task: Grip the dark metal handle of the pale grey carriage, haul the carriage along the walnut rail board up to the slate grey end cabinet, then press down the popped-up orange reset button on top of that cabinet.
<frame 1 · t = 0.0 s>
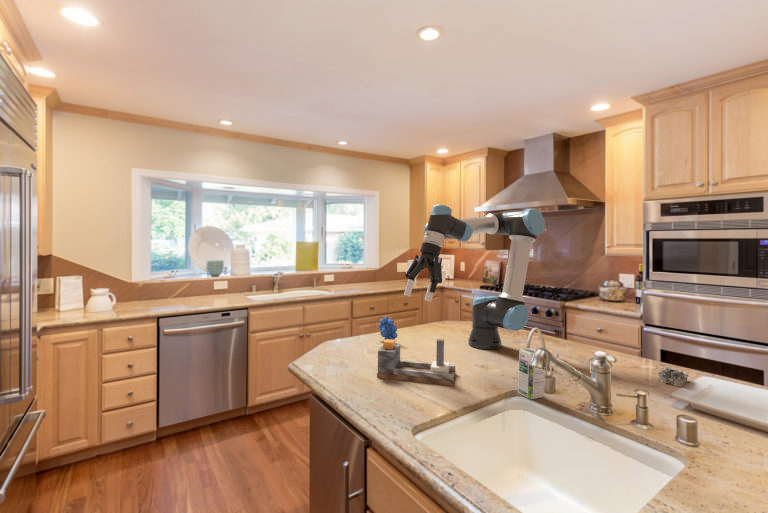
hand: (416, 298, 141), 28 cm above the worktop, fingers open, 13 cm apart
rail base: (416, 375, 138), on the worktop
grey ruffled clump: (672, 382, 134), on the worktop
syrup box: (530, 395, 121), on the worktop
carriage: (440, 356, 136), point 8 cm above the worktop, slide at 0.0 cm
grapes: (386, 342, 183), on the worktop
reset button: (389, 344, 141), point 11 cm above the worktop, slide at 0.0 cm
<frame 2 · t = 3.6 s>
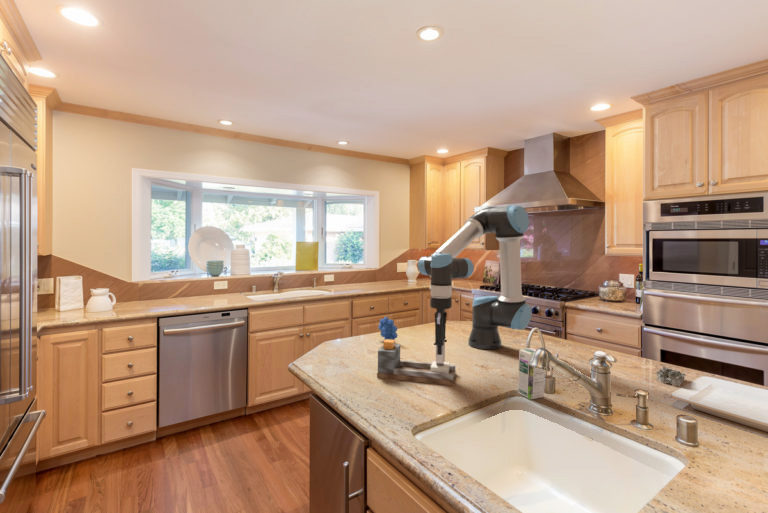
hand: (440, 361, 136), 6 cm above the worktop, fingers closed on carriage, 2 cm apart
carriage: (440, 356, 136), point 8 cm above the worktop, slide at 0.0 cm, touching gripper
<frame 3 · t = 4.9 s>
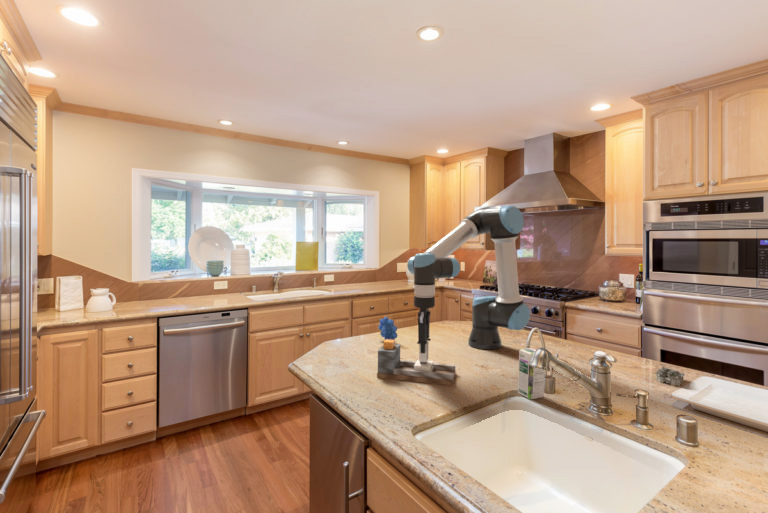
hand: (423, 359, 137), 6 cm above the worktop, fingers closed on carriage, 2 cm apart
carriage: (423, 355, 137), point 8 cm above the worktop, slide at 6.0 cm, touching gripper
everything else where it was.
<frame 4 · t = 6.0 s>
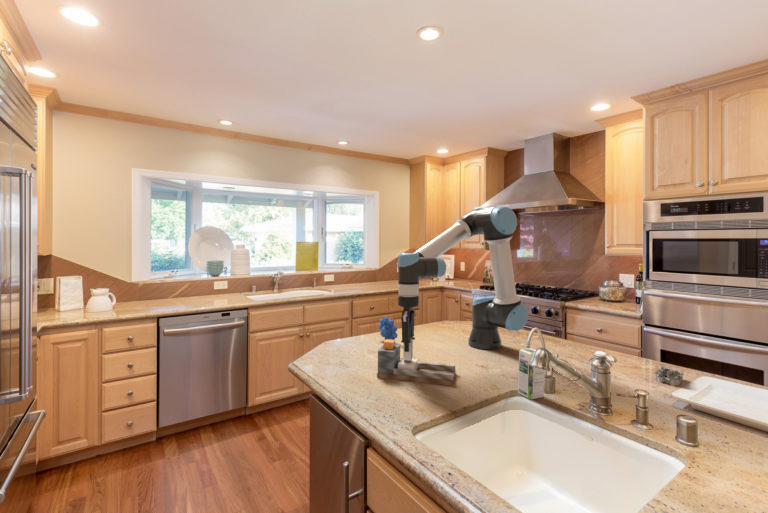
hand: (408, 358, 139), 6 cm above the worktop, fingers closed on carriage, 2 cm apart
carriage: (408, 353, 139), point 8 cm above the worktop, slide at 11.9 cm, touching gripper
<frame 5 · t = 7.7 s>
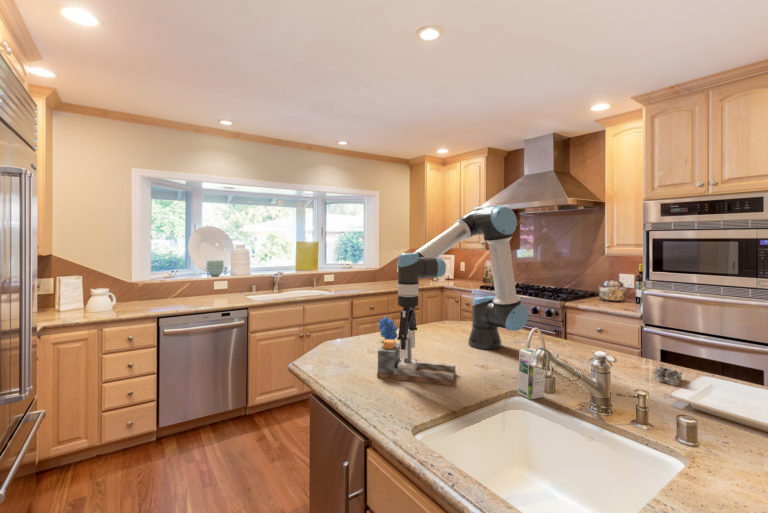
hand: (407, 352, 139), 8 cm above the worktop, fingers open, 13 cm apart
carriage: (407, 353, 139), point 8 cm above the worktop, slide at 12.0 cm
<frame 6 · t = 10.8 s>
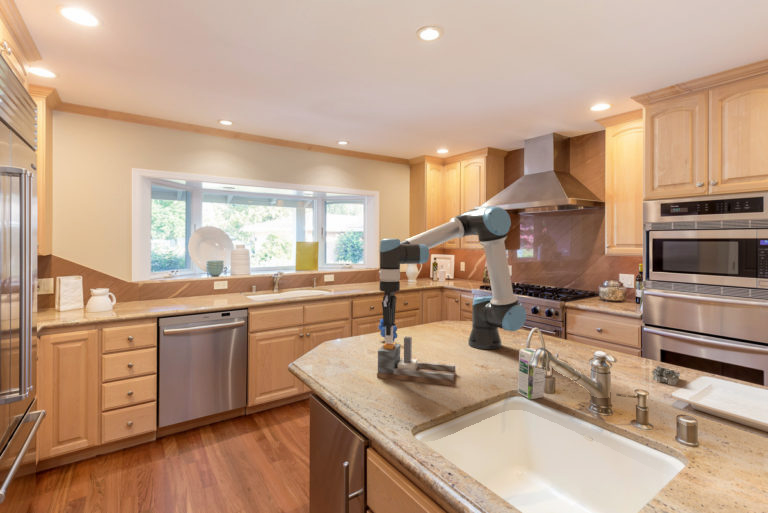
hand: (389, 343, 141), 11 cm above the worktop, fingers closed
reset button: (389, 347, 141), point 9 cm above the worktop, slide at 1.1 cm, touching gripper
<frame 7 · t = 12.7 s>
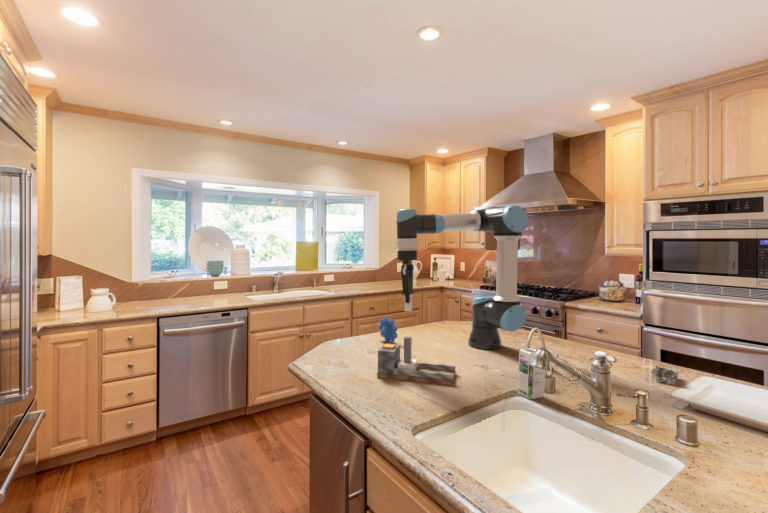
hand: (408, 310, 145), 22 cm above the worktop, fingers closed
reset button: (389, 349, 141), point 9 cm above the worktop, slide at 1.8 cm
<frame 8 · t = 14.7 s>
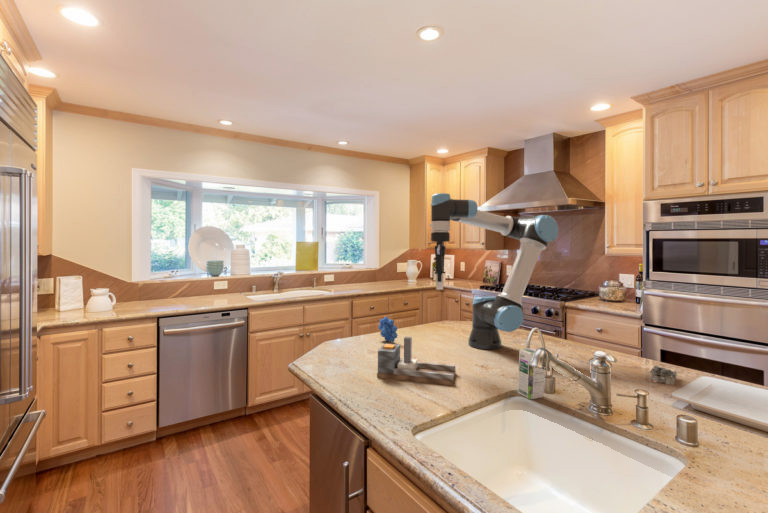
hand: (439, 289, 155), 29 cm above the worktop, fingers closed
at the end: carriage slide at 12.0 cm; reset button slide at 1.8 cm; the gripper is holding nothing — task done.
